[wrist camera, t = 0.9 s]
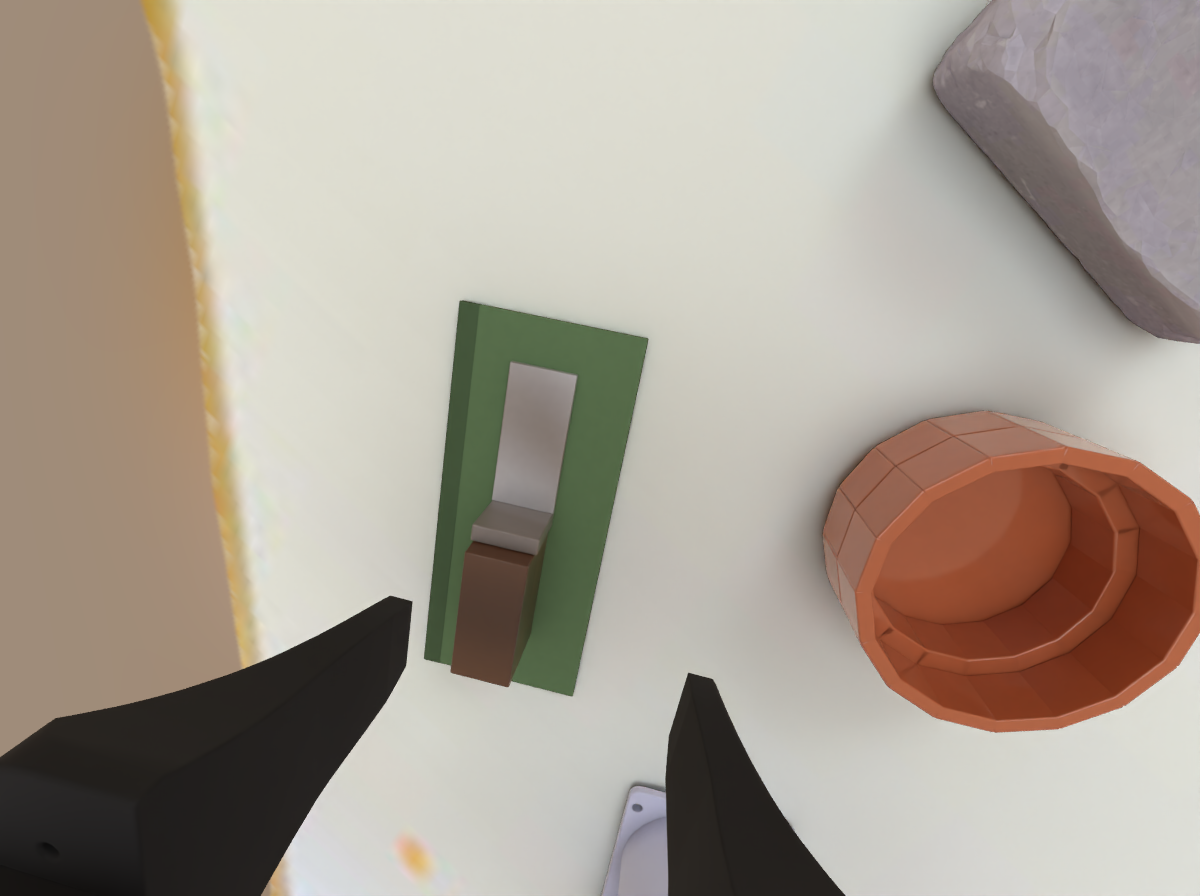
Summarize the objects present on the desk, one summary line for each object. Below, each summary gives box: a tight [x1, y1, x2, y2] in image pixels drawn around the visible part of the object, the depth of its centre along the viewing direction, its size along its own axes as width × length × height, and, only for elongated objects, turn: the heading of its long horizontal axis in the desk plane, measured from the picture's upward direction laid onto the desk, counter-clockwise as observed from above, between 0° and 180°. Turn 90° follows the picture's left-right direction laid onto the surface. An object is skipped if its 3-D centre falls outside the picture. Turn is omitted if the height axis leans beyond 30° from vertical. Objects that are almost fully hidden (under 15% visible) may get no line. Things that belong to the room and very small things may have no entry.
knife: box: [451, 361, 578, 687], centre depth 21 cm, size 12×3×3 cm, turn 170°
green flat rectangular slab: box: [424, 301, 648, 696], centre depth 23 cm, size 17×7×1 cm, turn 170°
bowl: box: [822, 411, 1200, 733], centre depth 19 cm, size 10×10×5 cm
